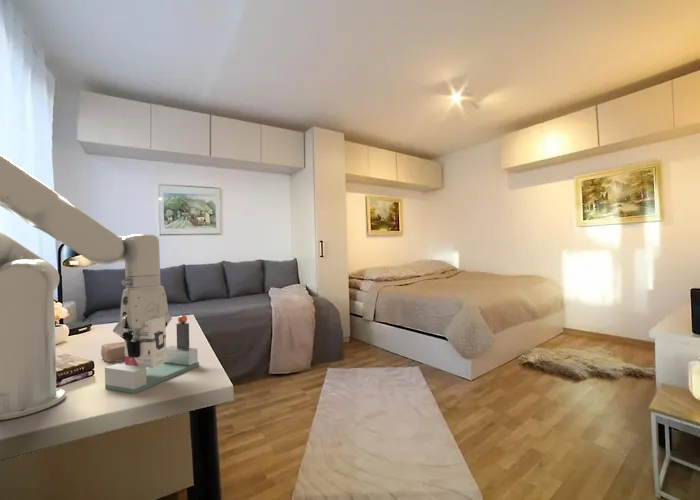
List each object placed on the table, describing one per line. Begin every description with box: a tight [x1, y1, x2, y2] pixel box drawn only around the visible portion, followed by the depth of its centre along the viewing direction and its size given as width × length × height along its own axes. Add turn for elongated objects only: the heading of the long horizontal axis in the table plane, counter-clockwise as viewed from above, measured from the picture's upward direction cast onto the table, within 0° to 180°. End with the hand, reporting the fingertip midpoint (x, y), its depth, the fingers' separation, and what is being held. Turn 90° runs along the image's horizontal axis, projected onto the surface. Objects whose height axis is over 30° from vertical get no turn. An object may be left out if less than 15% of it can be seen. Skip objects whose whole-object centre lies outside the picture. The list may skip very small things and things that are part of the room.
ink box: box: [124, 317, 167, 369], centre depth 81 cm, size 8×5×12 cm, turn 78°
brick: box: [100, 341, 125, 363], centre depth 104 cm, size 17×8×5 cm, turn 139°
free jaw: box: [165, 314, 199, 365], centre depth 92 cm, size 4×10×13 cm, turn 70°
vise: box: [104, 361, 200, 394], centre depth 84 cm, size 19×10×5 cm, turn 160°
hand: (145, 352), depth 81 cm, fingers closed on ink box, 5 cm apart
